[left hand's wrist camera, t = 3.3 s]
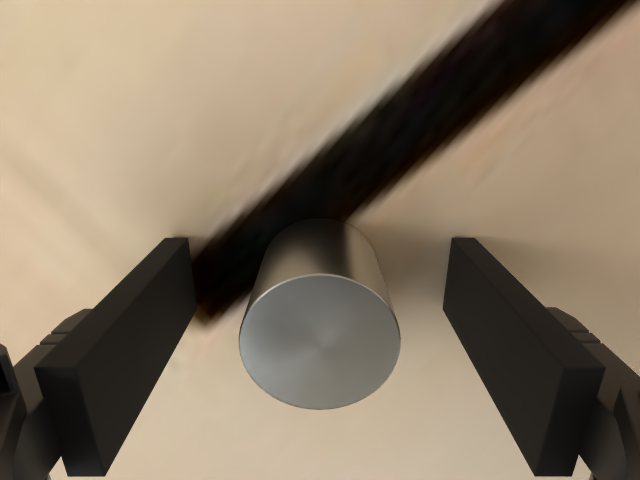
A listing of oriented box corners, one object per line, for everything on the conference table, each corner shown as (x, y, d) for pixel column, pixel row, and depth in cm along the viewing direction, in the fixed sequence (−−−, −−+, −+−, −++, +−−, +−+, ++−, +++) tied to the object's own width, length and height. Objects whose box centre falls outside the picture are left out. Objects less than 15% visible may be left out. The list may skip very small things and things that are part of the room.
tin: (353, 198, 13) (369, 249, 9) (392, 300, 14) (421, 383, 10) (242, 242, 13) (209, 308, 9) (289, 335, 15) (279, 427, 11)
